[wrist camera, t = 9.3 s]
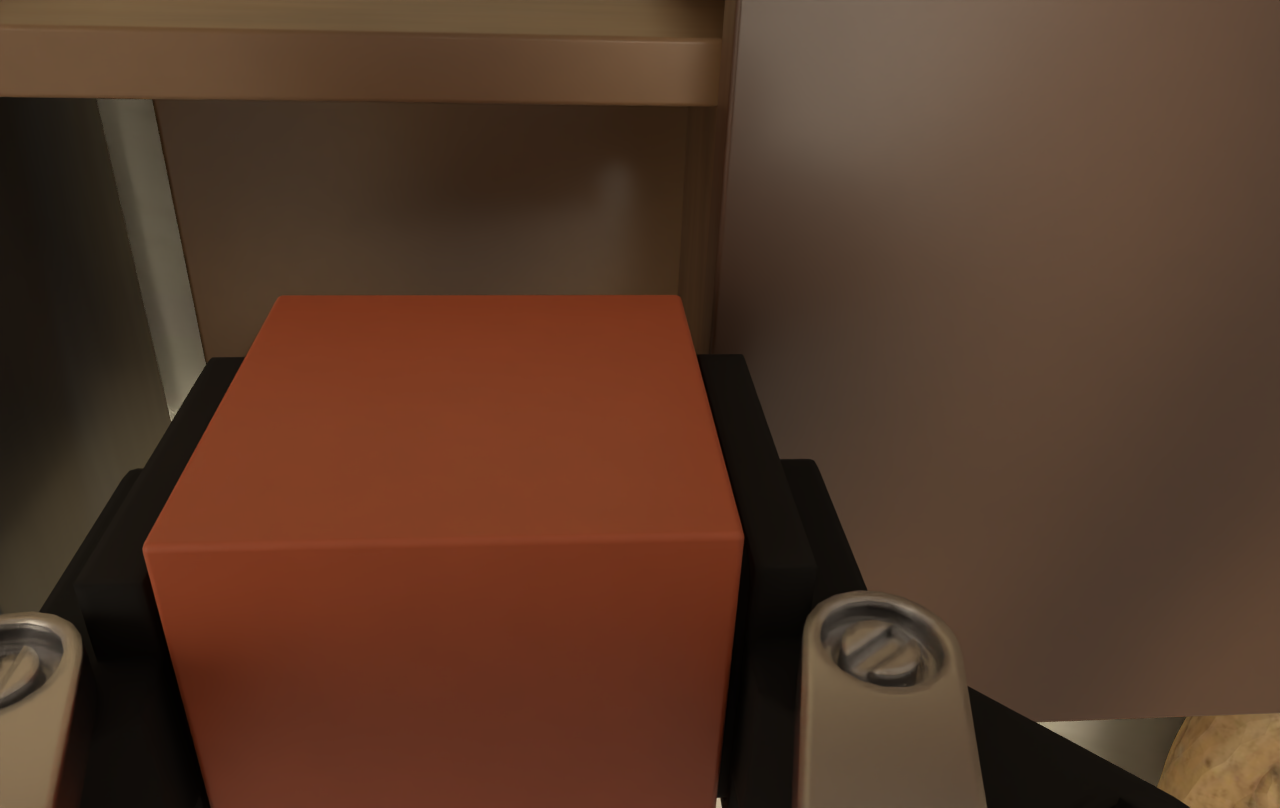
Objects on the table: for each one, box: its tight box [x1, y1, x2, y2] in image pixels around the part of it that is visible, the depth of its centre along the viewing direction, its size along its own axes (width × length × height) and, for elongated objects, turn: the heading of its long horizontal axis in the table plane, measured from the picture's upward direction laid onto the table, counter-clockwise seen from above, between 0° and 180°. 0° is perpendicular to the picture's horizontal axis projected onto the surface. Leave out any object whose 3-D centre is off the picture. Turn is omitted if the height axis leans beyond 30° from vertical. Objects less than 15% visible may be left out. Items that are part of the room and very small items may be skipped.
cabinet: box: [700, 0, 1280, 722], centre depth 18 cm, size 14×12×9 cm
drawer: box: [0, 0, 725, 615], centre depth 17 cm, size 17×10×7 cm, turn 88°
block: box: [142, 295, 744, 808], centre depth 11 cm, size 4×4×4 cm
